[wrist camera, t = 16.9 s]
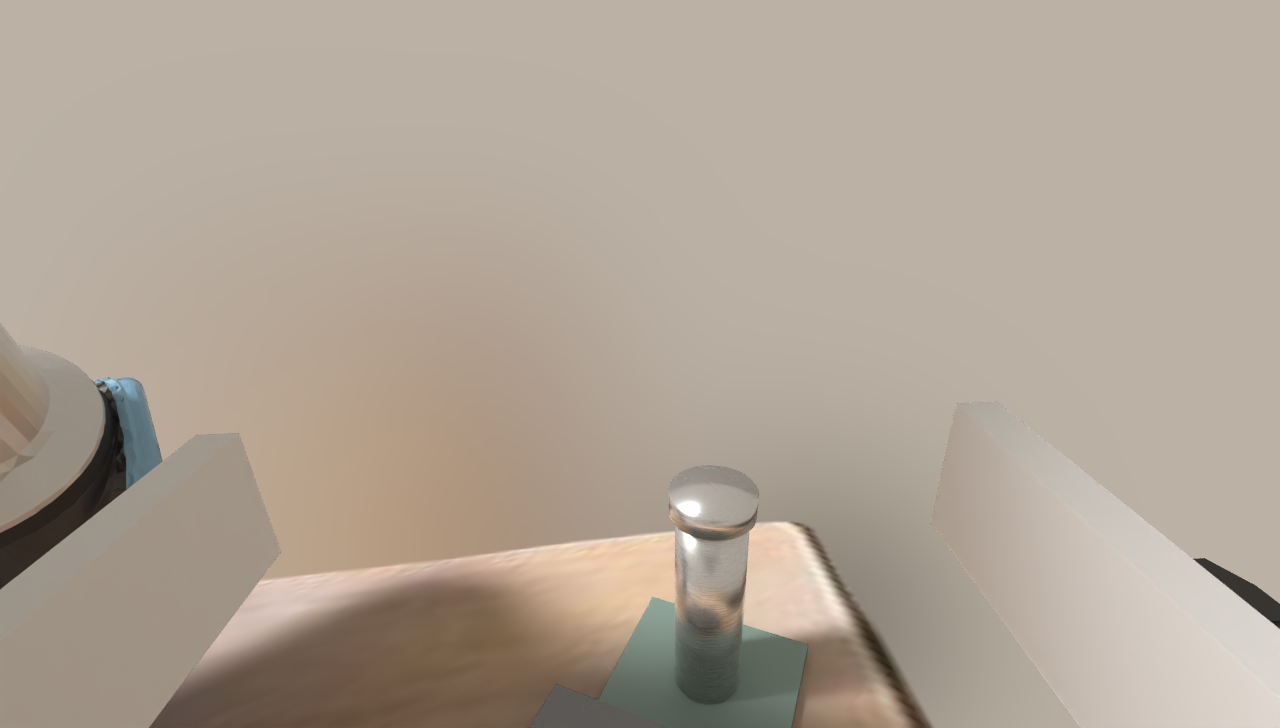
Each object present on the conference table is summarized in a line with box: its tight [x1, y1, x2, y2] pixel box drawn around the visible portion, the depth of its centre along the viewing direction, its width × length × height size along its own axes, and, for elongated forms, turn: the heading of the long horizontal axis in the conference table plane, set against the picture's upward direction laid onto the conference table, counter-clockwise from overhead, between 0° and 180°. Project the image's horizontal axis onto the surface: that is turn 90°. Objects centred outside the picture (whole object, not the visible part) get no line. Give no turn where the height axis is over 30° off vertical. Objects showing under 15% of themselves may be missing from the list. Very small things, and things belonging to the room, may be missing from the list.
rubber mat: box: [598, 597, 808, 728], centre depth 41 cm, size 12×10×1 cm
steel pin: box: [669, 466, 759, 704], centre depth 37 cm, size 5×5×15 cm
